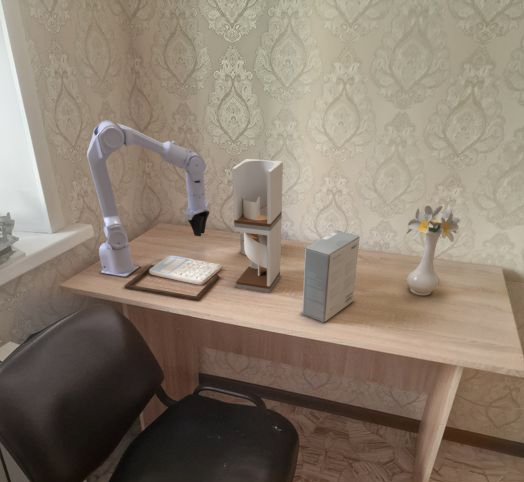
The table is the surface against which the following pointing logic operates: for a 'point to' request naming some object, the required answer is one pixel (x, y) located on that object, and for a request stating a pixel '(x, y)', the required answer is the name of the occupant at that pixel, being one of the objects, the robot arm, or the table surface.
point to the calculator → (185, 269)
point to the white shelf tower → (259, 220)
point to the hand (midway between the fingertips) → (199, 234)
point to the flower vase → (430, 246)
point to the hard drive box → (329, 275)
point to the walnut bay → (172, 294)
